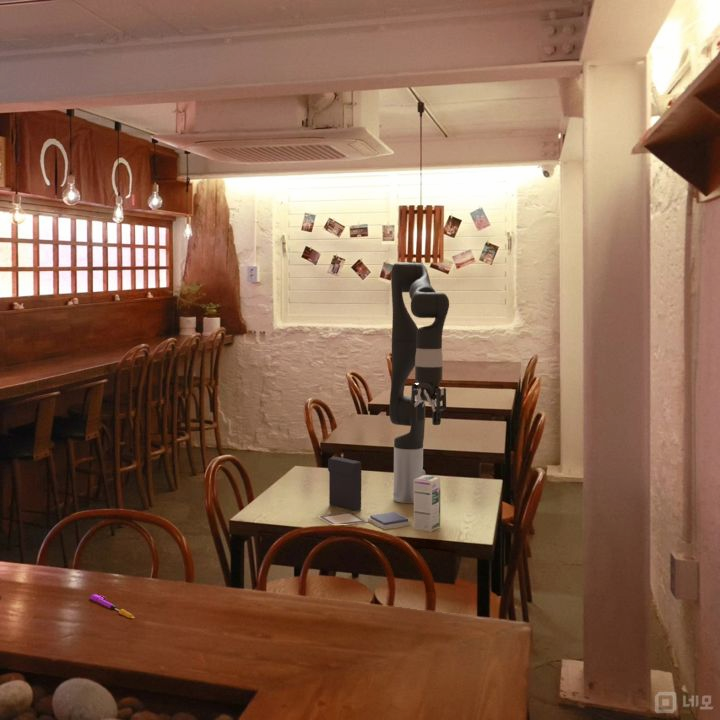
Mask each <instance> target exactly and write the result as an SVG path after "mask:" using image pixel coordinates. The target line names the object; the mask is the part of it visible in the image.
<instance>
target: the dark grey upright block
mask: <svg viewBox="0 0 720 720" xmlns="http://www.w3.org/2000/svg"><path fill="white" fill-rule="evenodd" d="M327 471H328V473H329V476H328V478H329V482H328V483H329V487H328V488H329V497H328V498H329V499H328V501H329V502H328V503H329V504H328V505H329V506H331V507H334V508H338V509H342V510H346V511H348V512H352V513H355V512H358V510H359V511H361V510H362V461H358V460H354V459H353V460H352V459H349V458H344V457H340V456H334V457H330V458H328V459H327Z"/></svg>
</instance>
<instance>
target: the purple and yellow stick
mask: <svg viewBox="0 0 720 720" xmlns="http://www.w3.org/2000/svg"><path fill="white" fill-rule="evenodd" d="M101 596H102V595H98V594H91V595H90V598H89V599H90V600H91V601H93V602H95V603H97V604H100V605H102V606H104V607H106V608H108V609H110V610H116V611H118V613H119V614H120V615H122V616H124V617H126V618H129V619H136V617H135V616H134V614H132V613H130V612H129V611H127V610H126V609H124V608H121V609H118V608H117V607H116V606H115V605H114V604H112V603H111V602H109V601H106V599H104V598H103V597H104V596H103V597H101Z"/></svg>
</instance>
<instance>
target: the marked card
mask: <svg viewBox="0 0 720 720" xmlns="http://www.w3.org/2000/svg"><path fill="white" fill-rule="evenodd" d="M318 519H320V520H322V521H324V522H325V523H327V524H329V525H330V524H351V525H356V524H355V523H357V524H362V523H367V522H368V520H365V519H364V518H362V517H361V516H358V515H357V514H354V512H352V511H345V512H339V513H333V514H332V513H331V514H326V515H324V514H323V515H320V516H318Z"/></svg>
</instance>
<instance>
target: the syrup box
mask: <svg viewBox="0 0 720 720" xmlns="http://www.w3.org/2000/svg"><path fill="white" fill-rule="evenodd" d="M439 528H441V477H438V476H434V475H426V474H425V475H423V476H421V477H419V478H417V479H414V503H413V529H414V530H418V531H422V532H428V533H432V532H434V531H435V530H437V529H439Z"/></svg>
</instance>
